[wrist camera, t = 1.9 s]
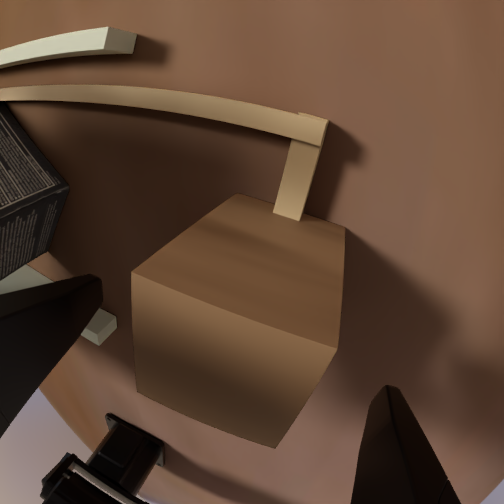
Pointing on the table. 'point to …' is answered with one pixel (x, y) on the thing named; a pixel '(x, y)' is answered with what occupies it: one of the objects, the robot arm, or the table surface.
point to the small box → (25, 197)
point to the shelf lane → (54, 48)
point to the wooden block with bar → (234, 282)
